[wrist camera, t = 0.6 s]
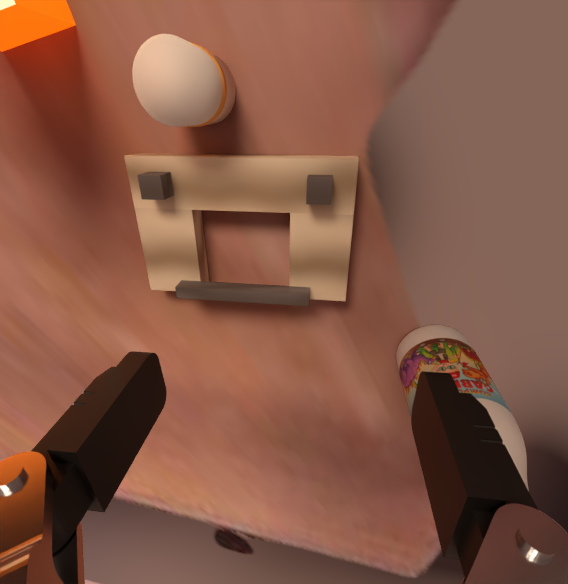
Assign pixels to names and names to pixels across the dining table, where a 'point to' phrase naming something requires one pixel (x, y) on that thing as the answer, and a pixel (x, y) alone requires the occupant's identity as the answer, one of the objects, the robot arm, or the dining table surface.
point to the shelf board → (252, 198)
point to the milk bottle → (458, 379)
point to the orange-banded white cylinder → (182, 82)
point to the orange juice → (31, 20)
